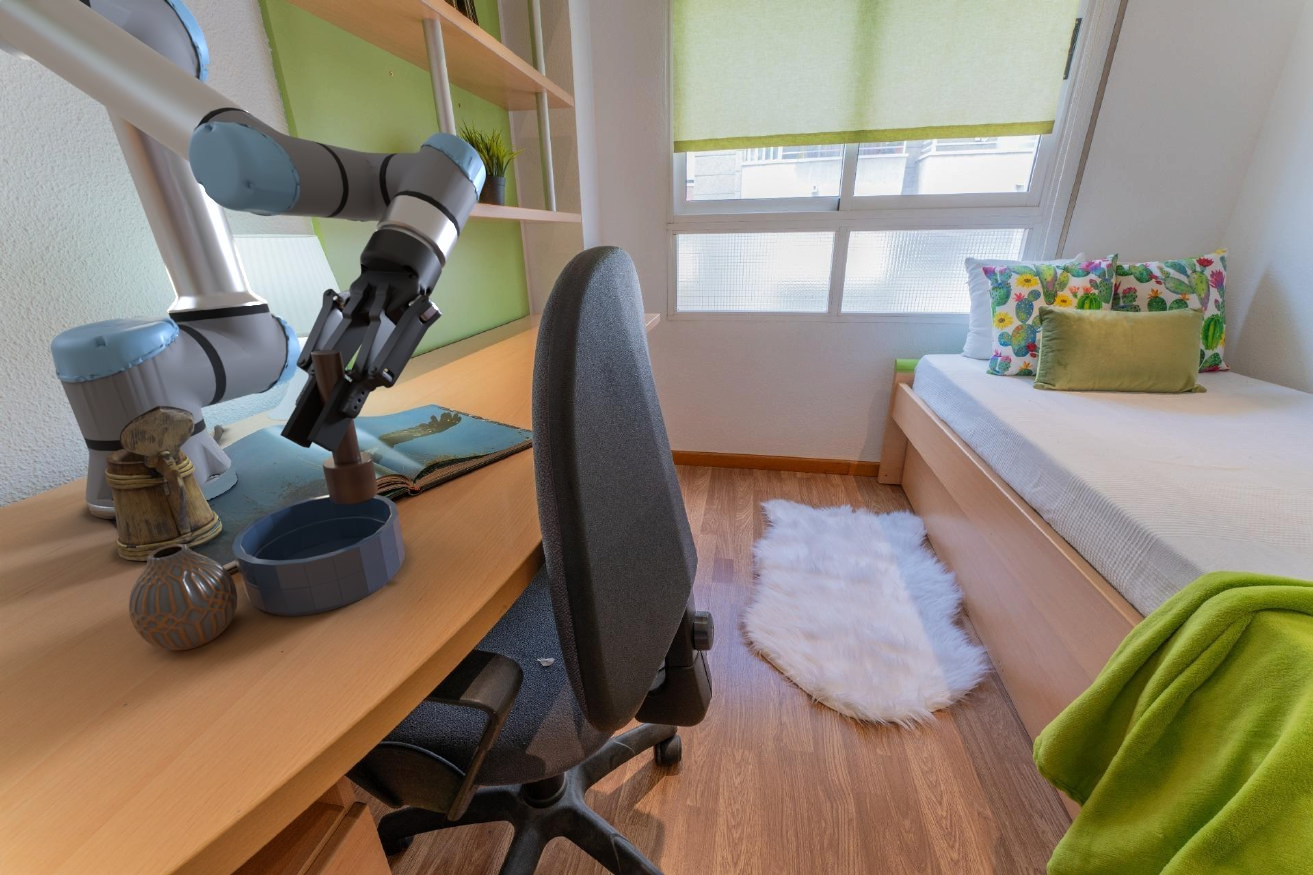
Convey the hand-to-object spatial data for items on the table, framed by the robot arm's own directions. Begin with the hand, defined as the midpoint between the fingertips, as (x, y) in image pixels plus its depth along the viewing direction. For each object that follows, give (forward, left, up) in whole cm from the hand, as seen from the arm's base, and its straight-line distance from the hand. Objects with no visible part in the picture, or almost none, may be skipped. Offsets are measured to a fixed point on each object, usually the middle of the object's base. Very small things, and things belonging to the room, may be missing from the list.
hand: (308, 443), depth 48 cm
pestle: (-2, +3, -7) cm, 8 cm away
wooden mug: (-21, -10, -16) cm, 28 cm away
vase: (-2, -11, -16) cm, 20 cm away
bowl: (-3, 0, -16) cm, 16 cm away
